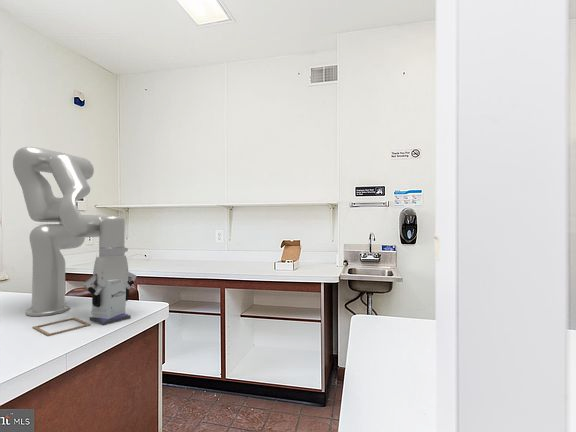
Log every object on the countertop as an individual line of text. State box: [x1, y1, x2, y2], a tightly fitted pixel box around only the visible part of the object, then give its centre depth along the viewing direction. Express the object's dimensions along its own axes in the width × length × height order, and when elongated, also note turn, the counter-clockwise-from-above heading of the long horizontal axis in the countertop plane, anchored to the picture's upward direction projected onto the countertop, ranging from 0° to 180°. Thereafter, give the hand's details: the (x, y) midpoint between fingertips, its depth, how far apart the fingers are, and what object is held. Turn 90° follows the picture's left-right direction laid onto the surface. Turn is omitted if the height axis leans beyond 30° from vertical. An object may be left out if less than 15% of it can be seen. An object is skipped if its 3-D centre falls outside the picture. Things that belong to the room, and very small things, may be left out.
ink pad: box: [89, 312, 131, 326], centre depth 107 cm, size 9×9×1 cm
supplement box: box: [91, 279, 127, 319], centre depth 107 cm, size 7×7×13 cm
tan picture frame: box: [31, 316, 92, 337], centre depth 99 cm, size 12×12×1 cm
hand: (111, 303), depth 107 cm, fingers closed on supplement box, 8 cm apart
